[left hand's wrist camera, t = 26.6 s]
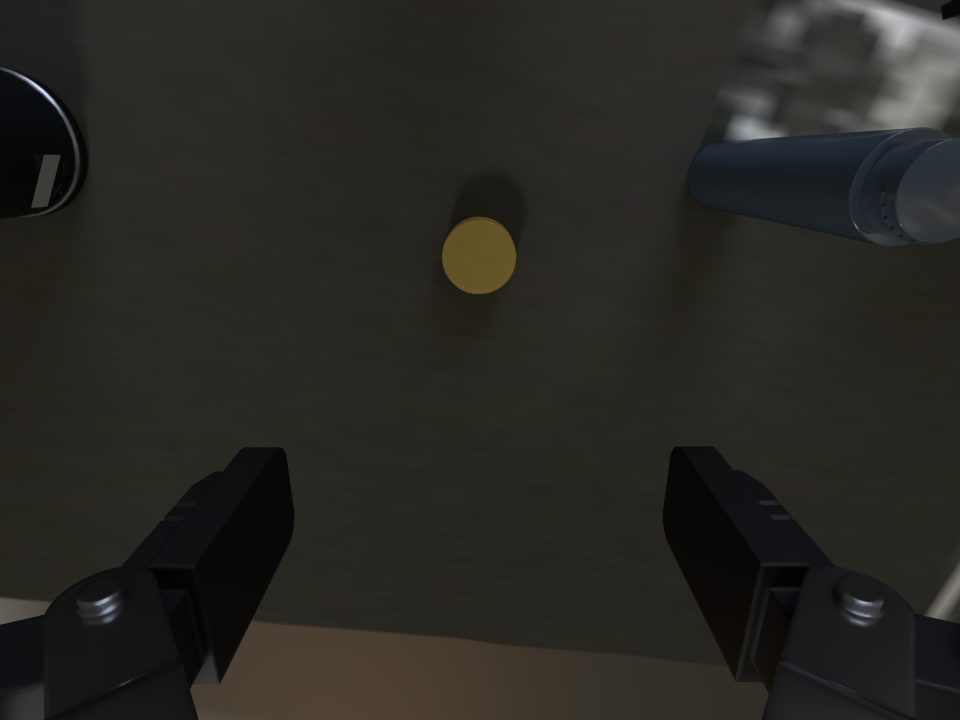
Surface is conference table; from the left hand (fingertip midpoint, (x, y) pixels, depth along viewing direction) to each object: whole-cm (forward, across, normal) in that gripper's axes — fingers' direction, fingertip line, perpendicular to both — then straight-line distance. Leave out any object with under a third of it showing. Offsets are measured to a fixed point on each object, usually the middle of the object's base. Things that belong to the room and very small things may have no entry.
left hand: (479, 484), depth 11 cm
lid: (+29, 0, 0) cm, 29 cm away
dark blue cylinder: (+30, +17, +5) cm, 35 cm away
